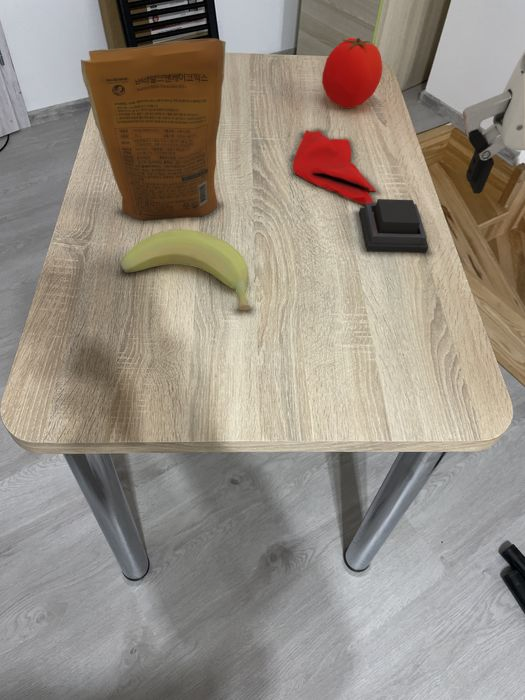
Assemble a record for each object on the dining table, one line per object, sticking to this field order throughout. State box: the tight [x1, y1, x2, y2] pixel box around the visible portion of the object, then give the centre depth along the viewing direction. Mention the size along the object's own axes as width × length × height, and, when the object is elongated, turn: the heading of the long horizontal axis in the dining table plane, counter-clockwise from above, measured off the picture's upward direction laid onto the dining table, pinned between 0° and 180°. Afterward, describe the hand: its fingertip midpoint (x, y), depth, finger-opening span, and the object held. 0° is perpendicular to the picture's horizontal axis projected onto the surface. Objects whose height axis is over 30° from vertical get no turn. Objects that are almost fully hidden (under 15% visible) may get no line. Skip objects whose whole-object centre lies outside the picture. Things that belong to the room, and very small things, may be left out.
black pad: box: [374, 198, 420, 234], centre depth 89 cm, size 6×6×3 cm
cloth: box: [292, 129, 377, 206], centre depth 101 cm, size 26×14×2 cm, turn 10°
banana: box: [119, 228, 251, 312], centre depth 81 cm, size 14×6×20 cm
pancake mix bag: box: [80, 38, 226, 222], centre depth 81 cm, size 7×19×28 cm, turn 100°
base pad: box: [358, 202, 429, 254], centre depth 90 cm, size 10×10×3 cm
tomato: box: [321, 37, 383, 109], centre depth 112 cm, size 12×12×13 cm
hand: (516, 187), depth 59 cm, fingers open, 9 cm apart
